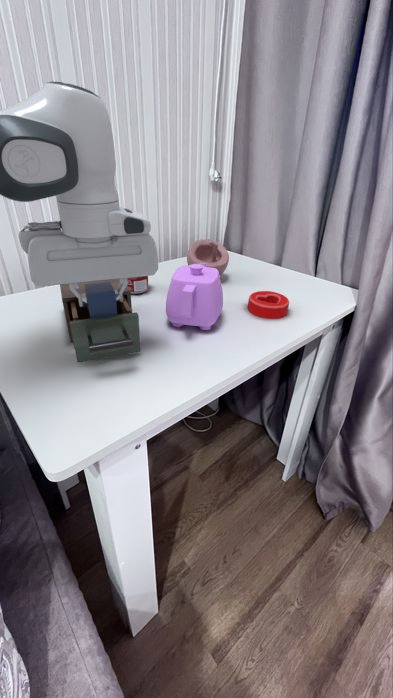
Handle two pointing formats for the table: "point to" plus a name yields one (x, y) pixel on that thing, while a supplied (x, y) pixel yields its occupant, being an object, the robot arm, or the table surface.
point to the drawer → (104, 333)
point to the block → (101, 299)
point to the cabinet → (69, 296)
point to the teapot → (194, 296)
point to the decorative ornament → (268, 304)
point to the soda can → (138, 284)
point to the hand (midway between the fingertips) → (101, 303)
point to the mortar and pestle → (208, 254)
